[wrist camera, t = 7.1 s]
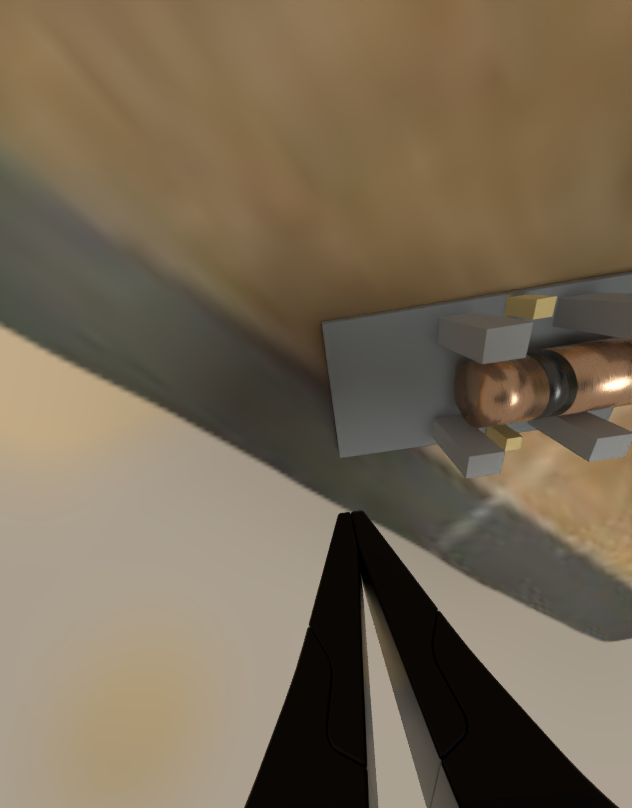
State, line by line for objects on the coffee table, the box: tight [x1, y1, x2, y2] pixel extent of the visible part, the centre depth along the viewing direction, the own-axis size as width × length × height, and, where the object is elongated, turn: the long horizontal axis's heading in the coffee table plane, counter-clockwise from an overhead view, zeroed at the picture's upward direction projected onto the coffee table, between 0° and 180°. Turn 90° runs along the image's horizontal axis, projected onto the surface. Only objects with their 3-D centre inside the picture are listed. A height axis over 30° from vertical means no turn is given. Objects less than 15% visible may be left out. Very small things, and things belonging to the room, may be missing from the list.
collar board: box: [321, 271, 632, 478], centre depth 15 cm, size 20×10×6 cm, turn 99°
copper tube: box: [454, 337, 632, 428], centre depth 15 cm, size 12×4×4 cm, turn 99°
